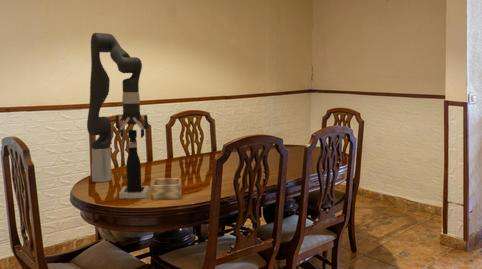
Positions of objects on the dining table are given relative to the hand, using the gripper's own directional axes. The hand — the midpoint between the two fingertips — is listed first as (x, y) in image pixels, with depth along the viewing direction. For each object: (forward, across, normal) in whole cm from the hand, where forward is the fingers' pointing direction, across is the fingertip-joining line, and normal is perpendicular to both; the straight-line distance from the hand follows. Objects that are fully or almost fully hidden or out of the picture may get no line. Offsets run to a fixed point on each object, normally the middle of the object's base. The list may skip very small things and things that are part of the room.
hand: (132, 137), depth 215 cm
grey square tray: (+27, 0, 0) cm, 27 cm away
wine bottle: (+27, 0, 0) cm, 27 cm away
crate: (+27, +15, -3) cm, 31 cm away
